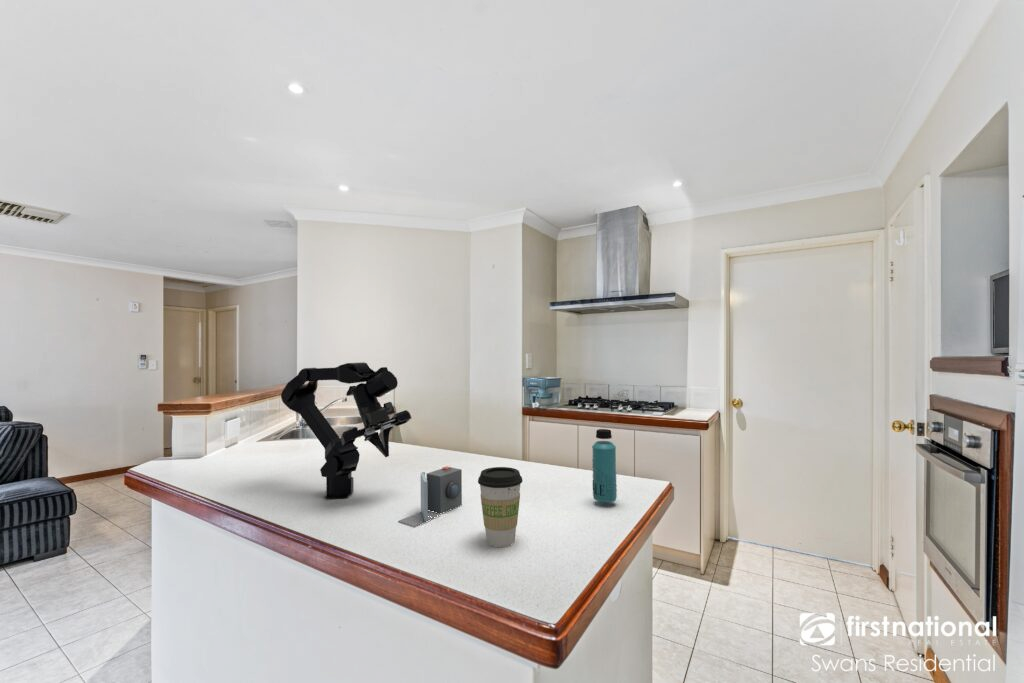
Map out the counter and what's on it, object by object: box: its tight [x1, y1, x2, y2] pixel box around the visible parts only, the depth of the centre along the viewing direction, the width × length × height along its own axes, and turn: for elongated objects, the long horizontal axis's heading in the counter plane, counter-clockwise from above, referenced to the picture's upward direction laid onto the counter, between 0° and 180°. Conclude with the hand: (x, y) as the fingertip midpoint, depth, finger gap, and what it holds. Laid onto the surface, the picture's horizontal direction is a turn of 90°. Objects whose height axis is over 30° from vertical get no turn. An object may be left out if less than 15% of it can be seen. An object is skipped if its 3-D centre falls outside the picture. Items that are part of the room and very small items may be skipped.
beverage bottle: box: [591, 428, 618, 503], centre depth 120 cm, size 6×7×20 cm
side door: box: [420, 471, 429, 522], centre depth 113 cm, size 1×9×9 cm, turn 18°
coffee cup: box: [477, 466, 523, 548], centre depth 98 cm, size 10×10×15 cm
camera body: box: [398, 465, 463, 528], centre depth 114 cm, size 6×17×10 cm, turn 144°
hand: (387, 456), depth 122 cm, fingers closed
